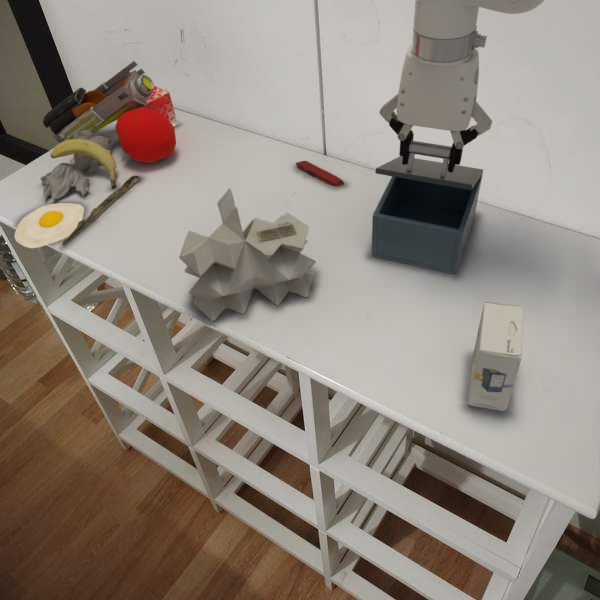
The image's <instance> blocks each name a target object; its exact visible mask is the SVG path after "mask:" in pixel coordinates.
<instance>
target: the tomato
mask: <svg viewBox="0 0 600 600" xmlns="http://www.w3.org/2000/svg"><path fill="white" fill-rule="evenodd" d="M114 131H115V133H116V136H117V139H118V143H119V145H120V147H121V149H122V150H123V152H124V153H125V154H126V155H127V156H129V157H130V158H131V159H132V160H134V161H137V162H140V163H146V164H149V163H155V162H157V161H159V160H161V159H167V158H170V157H171V156H172V154H173V153H174V152H175V148H176V145H177V138H176V131H175V126H174V127H173V125H172V124H171V122H170V121H169V120H168V119H167V118H166V117H165V116H164V115H162V114H160V113H158V112H157V111H155V110H152V109H145V108H136V109H133V110H130V111H127V112H125V113H123V114H122V115H121V116H120V117H119V118H118V120H116V123H115V125H114Z"/></svg>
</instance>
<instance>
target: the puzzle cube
mask: <svg viewBox="0 0 600 600" xmlns="http://www.w3.org/2000/svg"><path fill="white" fill-rule="evenodd" d="M154 87H155V88H154V90H153V91H152V94H150V97H149V99H147V100H146V102H145V105H143V106H142V107H140V108H145V109H152V110H155V111H157V112H158V113H160V114H162V115H164V116H165V117H166V118H167V119H168V120H169V121H170V122H171V124H172V125H173V127H174V128H175V127H176V126H178V125H179V124H178V121H177V117H176V113H175V109H174V105H173V102H172V96H171V94H170V91H168V90H166V89H164V88H162V87H160V86H157V85H155V84H154Z"/></svg>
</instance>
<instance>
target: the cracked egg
mask: <svg viewBox="0 0 600 600" xmlns="http://www.w3.org/2000/svg"><path fill="white" fill-rule="evenodd" d="M84 213H85V208H84V206H83V205H81V204H79V203H73V202H72V203H71V202H63V203H62V202H61V203H58V202H57V203H51V204H46V205H43V206H40V207H38V208H36V209H34V210H33V211H31V212H30V213H28V214H27V215H25V216H24V217H23V218H22V219H21V220H20V221H19V223H18V225H17V227H16V229H15V232H14V236H13V238H14V240H15V242H17V243H18V244H19V245H21V246H22V247H24V248H28V249H35V248H36V249H37V248H41V247H45V246H48V245H51V244H54V243H57V242H59V241H62V240H65V239H67V238H69V237H70V235H71V233H72V232H73V231H74V230H75V229H76V227H77V226H78V223H79V222H80V221H82V220H84V219H83V218H84Z"/></svg>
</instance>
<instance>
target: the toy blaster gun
mask: <svg viewBox="0 0 600 600" xmlns="http://www.w3.org/2000/svg"><path fill="white" fill-rule="evenodd" d="M137 66H139V65H138V63H137V62H136V61H135V60H133V61H132V62H130V63H129V64H128V65H126V66H125V67H124V68H122V69H121V70H119V72H117V73H116V74H114V75H113V76H112V77H111V78H109V79H108V80H107V81H103V82H102V83H100V85H99V86H97V87H96V88H94V89H92V90H89V91H87V90H86V89H85V88H84V87H79V88H77V89H76V90H75V91H74V92H72V93H71V94H70V95H69V96H67V97H66V98H64V99H63V100H62V101H61V102H60V103H58V104H57V105H56V106H55V107H53V108H52V109H51V110H49V111H47V113H46V114H45V115H44V117H43V119H42V125H43V127H45V128H46V129H48V128H50V130H51V132H52V133H53V137H52V138H53V139H55V140H56V141H57V142H58V143H61V142H63V141H66V140H71V139H75V134H76V133H78V132H80V131H82V130H86V131H90V132H92V133H95V132H98V131H100V130H101V129H103V128H105V127H106V126H108V125H110V124H112V123H114V122H117V120H118V118H119V117H120V116H121V115H122V114H123V113H125V112H127V111H130V110H133V109H136V108H140V107H142V106H143V105H145V102H146V100H147V99H149V97H150V94H152V91H153V90H154V88H155V87H154V85H155V83H154V81H153V80H152V78H150V77H149V76H148V75H146V72H145V71H144V70H143V68H140V69H138V70H136V69H134V68H137Z"/></svg>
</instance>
